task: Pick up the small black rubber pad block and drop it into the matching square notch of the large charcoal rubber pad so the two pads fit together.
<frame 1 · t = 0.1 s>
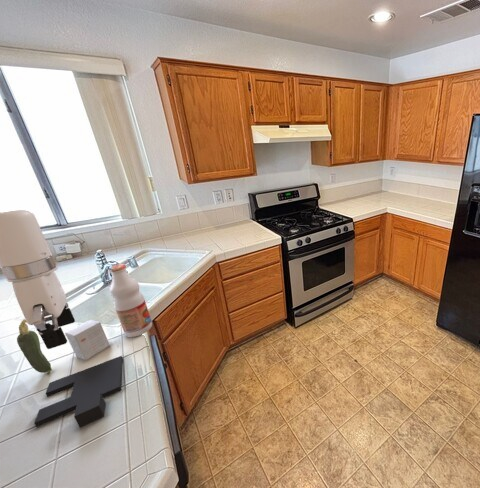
hand: (62, 334, 61), 26 cm above the countertop, tool pointing down, fingers open, 9 cm apart
base pad: (85, 388, 79), on the countertop
fruit juice: (139, 330, 105), on the countertop
small box: (93, 351, 95), on the countertop
pad piece: (93, 414, 70), on the countertop
vegetable: (45, 373, 86), on the countertop
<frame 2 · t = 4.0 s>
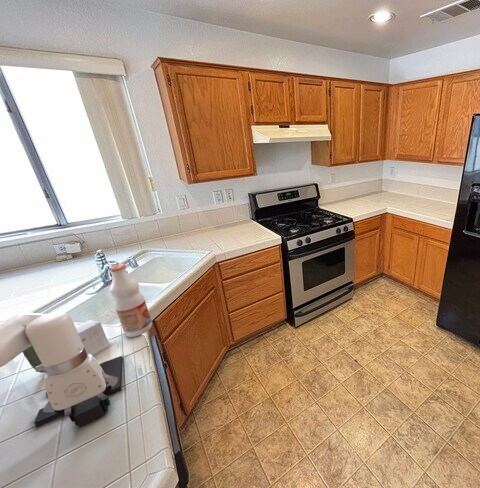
hand: (92, 413, 70), 0 cm above the countertop, tool pointing down, fingers closed on pad piece, 5 cm apart
pad piece: (93, 414, 70), on the countertop, touching gripper
everything else where it was.
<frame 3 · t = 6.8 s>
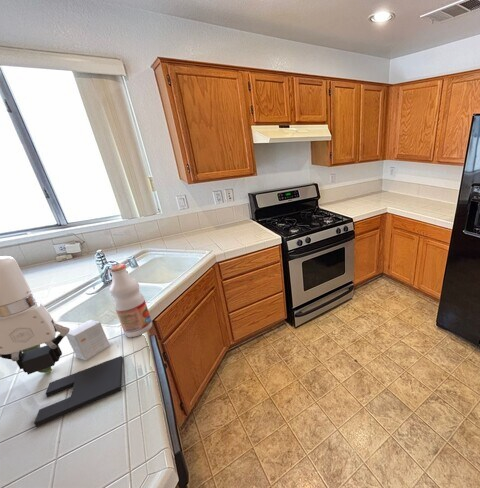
hand: (43, 363, 71), 14 cm above the countertop, tool pointing down, fingers closed on pad piece, 5 cm apart
pad piece: (43, 364, 71), point 13 cm above the countertop, touching gripper
everything else where it was.
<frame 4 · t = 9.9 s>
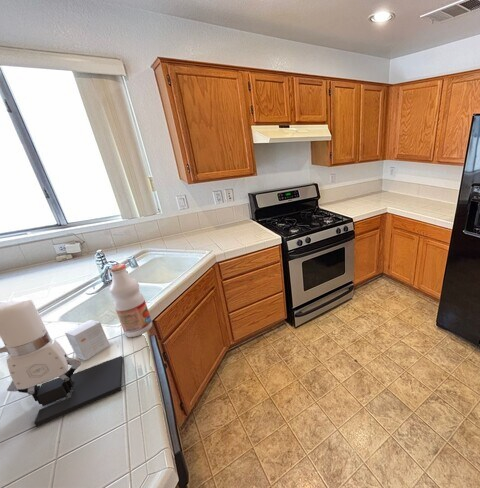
hand: (56, 394, 75), 2 cm above the countertop, tool pointing down, fingers closed on pad piece, 5 cm apart
pad piece: (57, 395, 75), point 1 cm above the countertop, touching gripper
everything else where it was.
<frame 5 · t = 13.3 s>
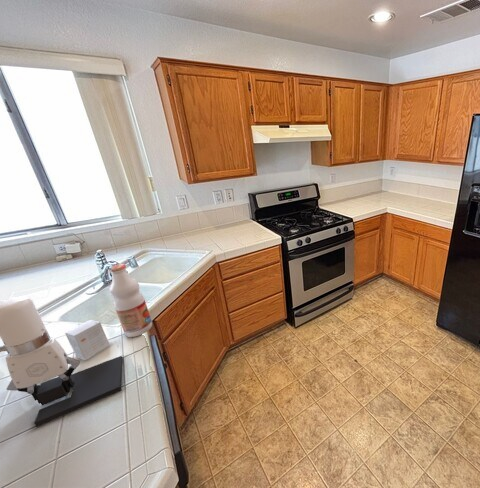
hand: (55, 393, 75), 2 cm above the countertop, tool pointing down, fingers closed on pad piece, 5 cm apart
pad piece: (56, 394, 75), point 2 cm above the countertop, touching gripper
everything else where it was.
when the fingers open (2 cm above the countertop, at t = 16.7 s): pad piece drops 2 cm, on the countertop.
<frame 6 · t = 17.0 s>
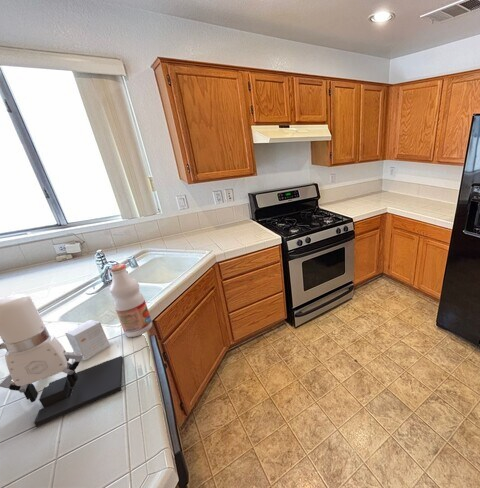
hand: (55, 390, 75), 3 cm above the countertop, tool pointing down, fingers open, 7 cm apart
pad piece: (59, 399, 76), on the countertop
everything else where it was.
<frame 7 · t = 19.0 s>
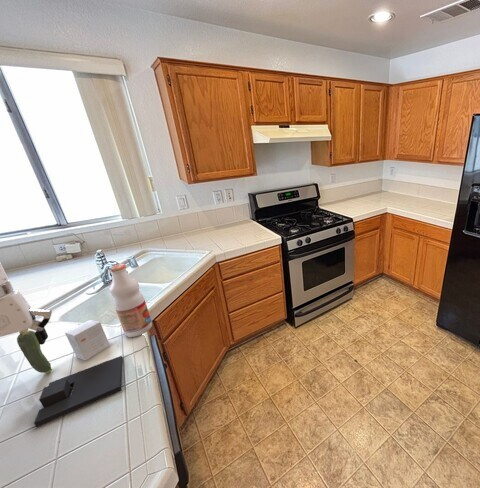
hand: (18, 349, 70), 18 cm above the countertop, tool pointing down, fingers open, 9 cm apart
nothing on the countertop moved.
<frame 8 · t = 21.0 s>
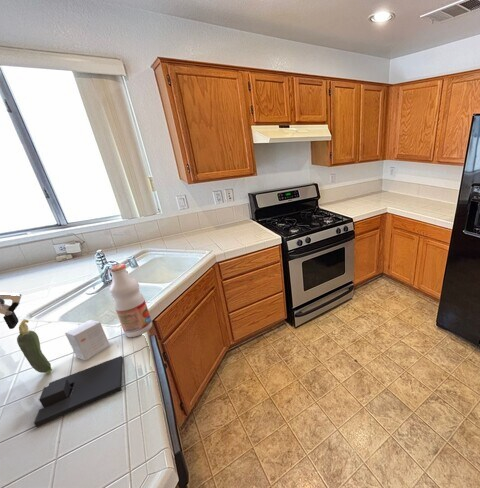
nothing on the countertop moved.
at the end: pad piece 0.1 cm from the target spot, on the countertop; pad piece tilted 0° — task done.
